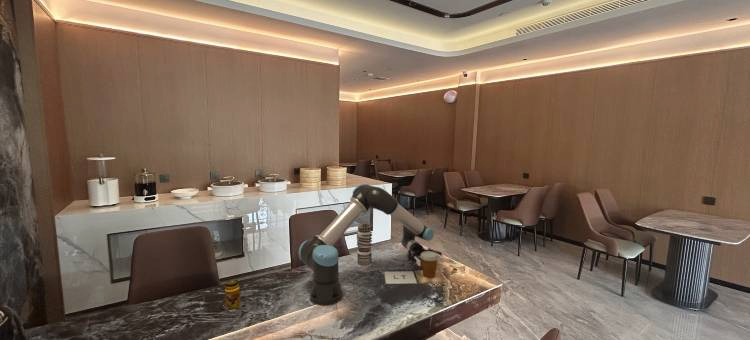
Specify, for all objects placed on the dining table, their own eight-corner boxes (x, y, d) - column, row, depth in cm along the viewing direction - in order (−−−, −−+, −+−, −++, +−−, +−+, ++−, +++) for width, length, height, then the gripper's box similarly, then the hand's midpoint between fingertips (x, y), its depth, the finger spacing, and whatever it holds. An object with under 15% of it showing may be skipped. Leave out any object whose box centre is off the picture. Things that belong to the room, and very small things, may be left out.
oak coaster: (418, 283, 162) (418, 281, 162) (414, 271, 176) (414, 270, 176) (445, 282, 163) (445, 281, 163) (439, 271, 177) (439, 269, 176)
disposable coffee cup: (417, 273, 172) (417, 252, 171) (432, 270, 175) (433, 250, 174) (425, 280, 163) (425, 258, 162) (441, 278, 166) (441, 256, 165)
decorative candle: (375, 263, 188) (375, 222, 185) (366, 269, 180) (366, 226, 177) (362, 260, 192) (362, 220, 190) (353, 265, 185) (353, 224, 182)
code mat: (386, 284, 162) (386, 283, 162) (384, 272, 176) (384, 271, 176) (417, 283, 162) (417, 282, 162) (412, 271, 176) (412, 271, 176)
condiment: (231, 313, 135) (229, 286, 134) (218, 308, 139) (217, 282, 138) (245, 305, 142) (244, 280, 140) (233, 300, 146) (232, 275, 144)
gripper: (434, 252, 191) (452, 266, 171) (395, 256, 184) (409, 271, 164) (434, 240, 190) (452, 252, 170) (395, 244, 183) (409, 257, 163)
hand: (431, 262), depth 167 cm, fingers open, 13 cm apart
